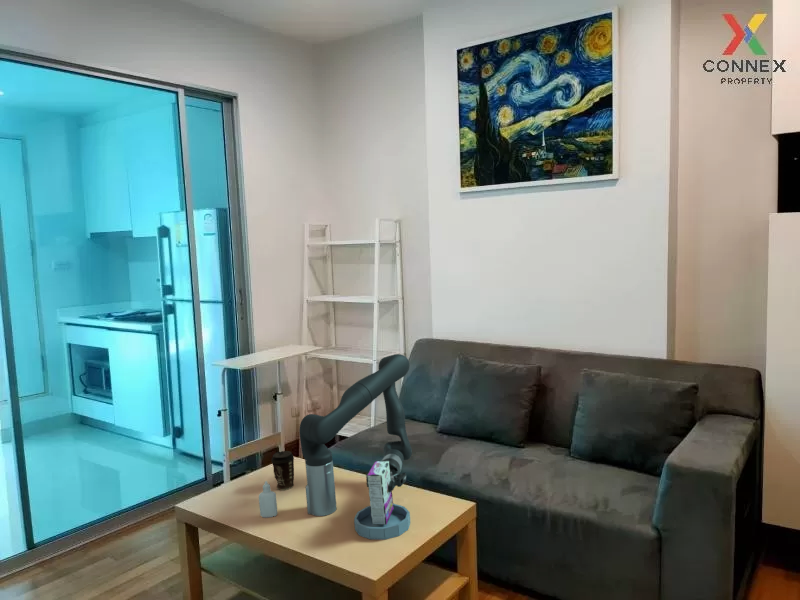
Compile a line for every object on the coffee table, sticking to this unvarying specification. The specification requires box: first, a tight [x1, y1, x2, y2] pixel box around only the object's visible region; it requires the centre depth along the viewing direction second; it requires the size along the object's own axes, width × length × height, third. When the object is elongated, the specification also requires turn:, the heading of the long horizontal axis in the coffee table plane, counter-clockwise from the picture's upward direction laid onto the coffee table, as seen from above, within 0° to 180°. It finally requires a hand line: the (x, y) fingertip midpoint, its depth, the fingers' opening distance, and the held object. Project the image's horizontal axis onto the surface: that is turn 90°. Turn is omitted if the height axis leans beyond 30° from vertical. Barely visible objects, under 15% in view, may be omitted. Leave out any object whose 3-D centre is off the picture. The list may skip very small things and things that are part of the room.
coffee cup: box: [270, 450, 295, 491], centre depth 223 cm, size 9×8×13 cm
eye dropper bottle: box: [258, 480, 278, 518], centre depth 199 cm, size 4×6×12 cm
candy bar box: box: [367, 460, 394, 525], centre depth 186 cm, size 11×5×16 cm, turn 169°
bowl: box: [353, 503, 411, 540], centre depth 186 cm, size 17×17×4 cm
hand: (380, 489), depth 186 cm, fingers closed on candy bar box, 5 cm apart
